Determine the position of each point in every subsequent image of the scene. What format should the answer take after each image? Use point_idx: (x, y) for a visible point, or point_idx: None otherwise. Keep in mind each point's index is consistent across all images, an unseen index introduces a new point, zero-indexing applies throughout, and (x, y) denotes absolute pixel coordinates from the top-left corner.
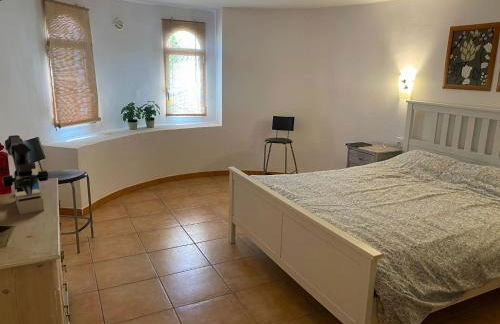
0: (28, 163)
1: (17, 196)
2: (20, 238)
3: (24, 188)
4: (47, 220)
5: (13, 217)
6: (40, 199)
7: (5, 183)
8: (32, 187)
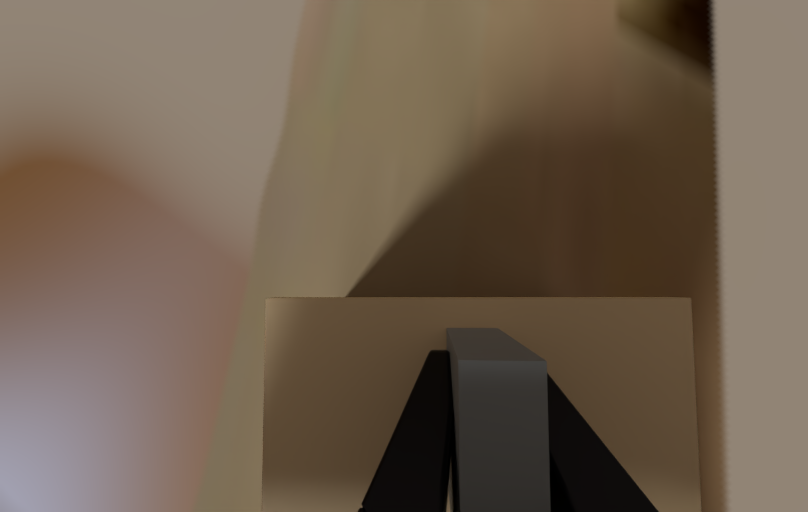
0: None
1: (687, 482)
2: None
3: (614, 467)
4: (366, 10)
5: (635, 267)
6: None
7: None
8: (383, 454)
